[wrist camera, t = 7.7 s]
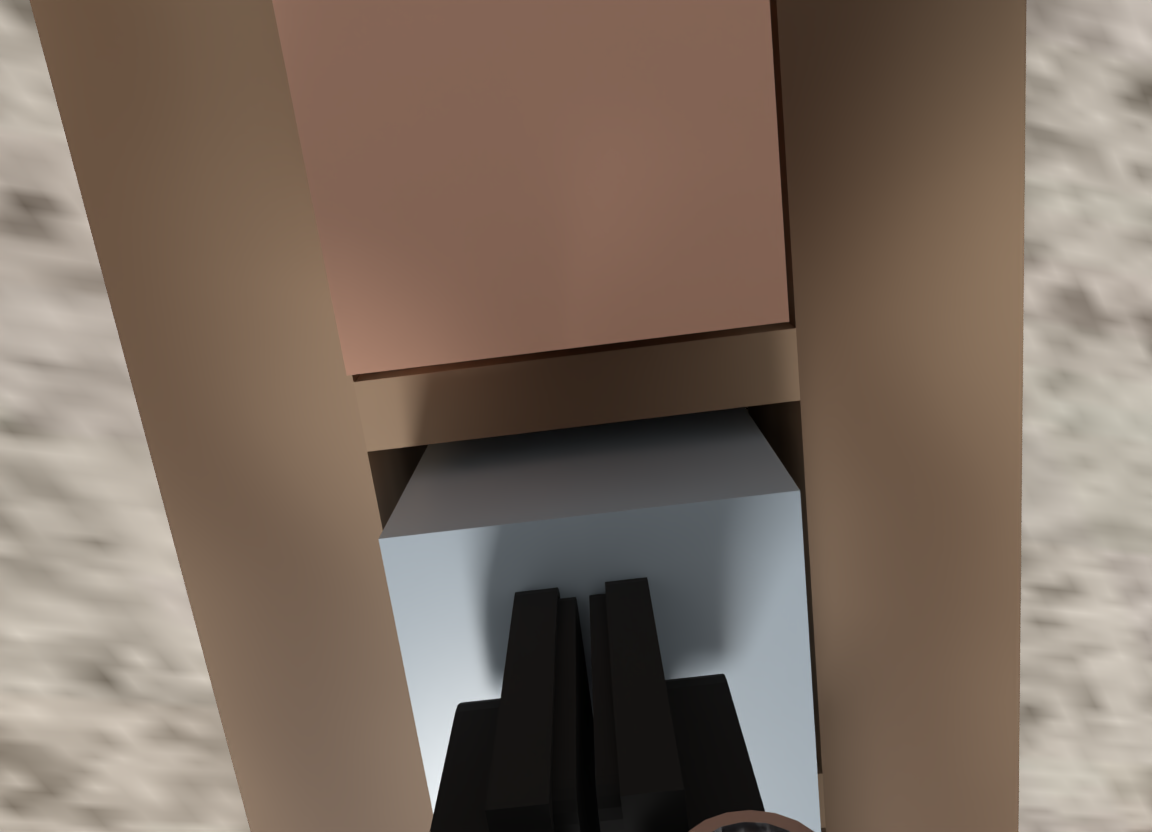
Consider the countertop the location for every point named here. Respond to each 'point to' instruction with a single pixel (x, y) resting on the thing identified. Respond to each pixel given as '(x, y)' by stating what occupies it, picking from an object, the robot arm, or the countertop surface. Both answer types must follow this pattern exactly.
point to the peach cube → (537, 171)
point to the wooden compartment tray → (584, 397)
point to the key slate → (613, 570)
